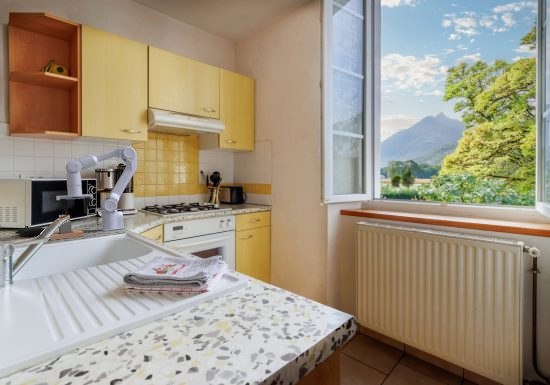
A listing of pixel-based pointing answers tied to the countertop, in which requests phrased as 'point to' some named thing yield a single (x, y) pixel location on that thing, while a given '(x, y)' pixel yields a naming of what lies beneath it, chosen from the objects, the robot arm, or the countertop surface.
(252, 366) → the countertop surface
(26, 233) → the carrying case or bag
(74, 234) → the socket plate
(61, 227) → the charger block
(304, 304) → the countertop surface
